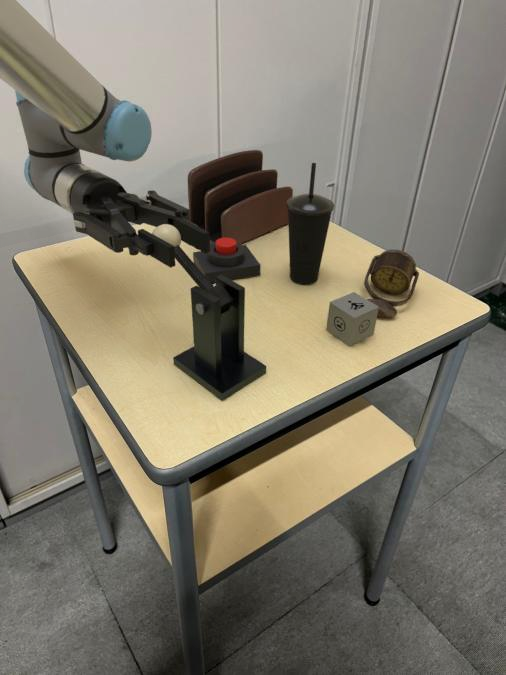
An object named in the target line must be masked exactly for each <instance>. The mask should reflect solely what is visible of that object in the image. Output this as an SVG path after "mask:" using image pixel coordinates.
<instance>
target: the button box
mask: <svg viewBox="0 0 506 675" xmlns="http://www.w3.org/2000/svg"><path fill="white" fill-rule="evenodd" d="M192 258H193V260H192V261H193V263H194V264H195V265H196V266H197V267H198V269H199V270H200V271H201V272H202V273H203V274H204V276H205V277H206V278H207V279H208V280H209V281H210V283H211V284H216V280H215V277H217V276H219V275H223V276H225V277H227V278H228V279H230V280H232V281H236V280H241V279H247V278H254V277H260V276H261V263H260V262H259V260H258V259H257V258H256V257H255V255H254V254H253V253H252V252H251V250H250V249H249V247H248V246H247V245H246V244H243V243H242V244H239V243H237V242H236V253H234V254H230V255H222V254H218V253H216V242H215V243H213V244H211V245H210V252H208V253H204V252H202V251H200V250H197V251H194V252H192Z"/></svg>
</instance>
